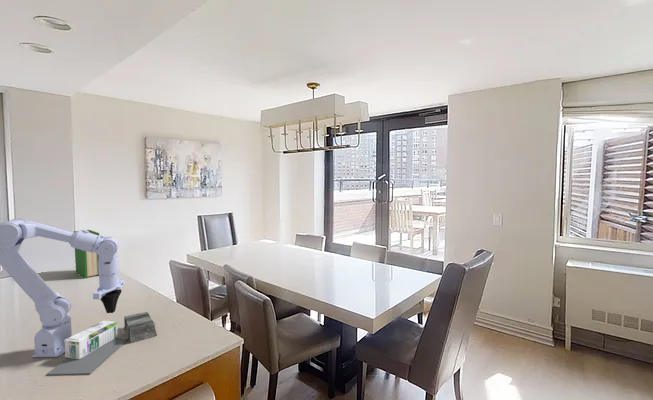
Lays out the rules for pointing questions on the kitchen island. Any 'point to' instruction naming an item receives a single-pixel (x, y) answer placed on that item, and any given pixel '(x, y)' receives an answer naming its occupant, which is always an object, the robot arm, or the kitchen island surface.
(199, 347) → the kitchen island surface
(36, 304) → the robot arm
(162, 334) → the kitchen island surface
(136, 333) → the stone block
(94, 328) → the syrup box
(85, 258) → the hardback book
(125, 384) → the kitchen island surface
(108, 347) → the mat
